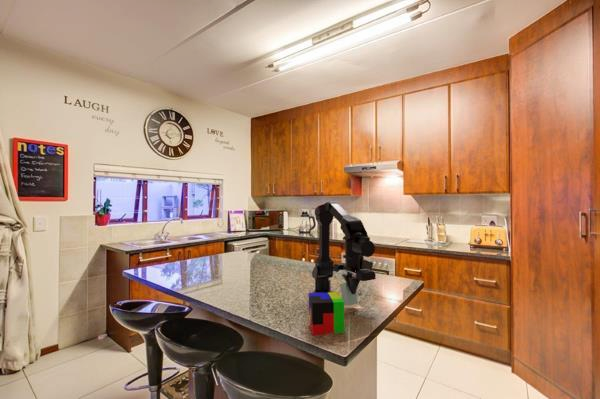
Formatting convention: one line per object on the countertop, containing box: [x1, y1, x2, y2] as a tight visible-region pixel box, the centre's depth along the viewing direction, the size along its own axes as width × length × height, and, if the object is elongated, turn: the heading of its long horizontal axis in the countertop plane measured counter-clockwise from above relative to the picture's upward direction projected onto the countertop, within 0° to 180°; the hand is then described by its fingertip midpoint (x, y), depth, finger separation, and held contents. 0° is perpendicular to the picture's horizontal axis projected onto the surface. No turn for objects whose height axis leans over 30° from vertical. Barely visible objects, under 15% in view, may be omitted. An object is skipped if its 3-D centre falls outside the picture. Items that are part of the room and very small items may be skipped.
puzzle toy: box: [308, 291, 346, 336], centre depth 94 cm, size 10×10×10 cm
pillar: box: [339, 282, 359, 308], centre depth 111 cm, size 4×4×9 cm
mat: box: [344, 304, 366, 315], centre depth 113 cm, size 14×10×1 cm
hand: (353, 293), depth 108 cm, fingers closed
